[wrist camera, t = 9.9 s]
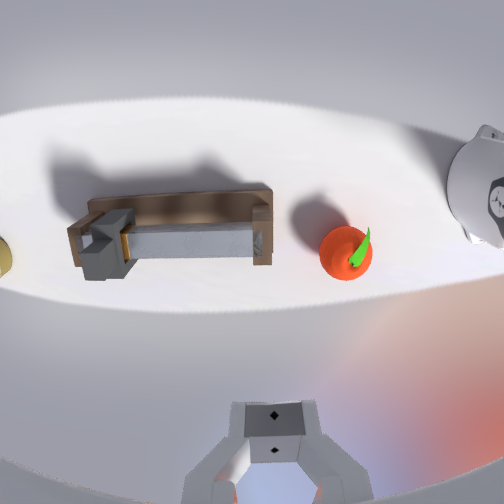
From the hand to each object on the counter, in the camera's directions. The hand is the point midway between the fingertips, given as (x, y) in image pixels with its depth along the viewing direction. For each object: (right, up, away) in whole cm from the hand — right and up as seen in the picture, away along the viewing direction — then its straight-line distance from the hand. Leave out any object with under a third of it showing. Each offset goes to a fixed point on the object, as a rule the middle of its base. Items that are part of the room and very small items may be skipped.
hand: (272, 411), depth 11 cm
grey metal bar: (-11, +8, +27) cm, 30 cm away
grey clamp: (-17, +8, +28) cm, 34 cm away
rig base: (-11, +10, +32) cm, 35 cm away
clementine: (+11, +7, +33) cm, 36 cm away
